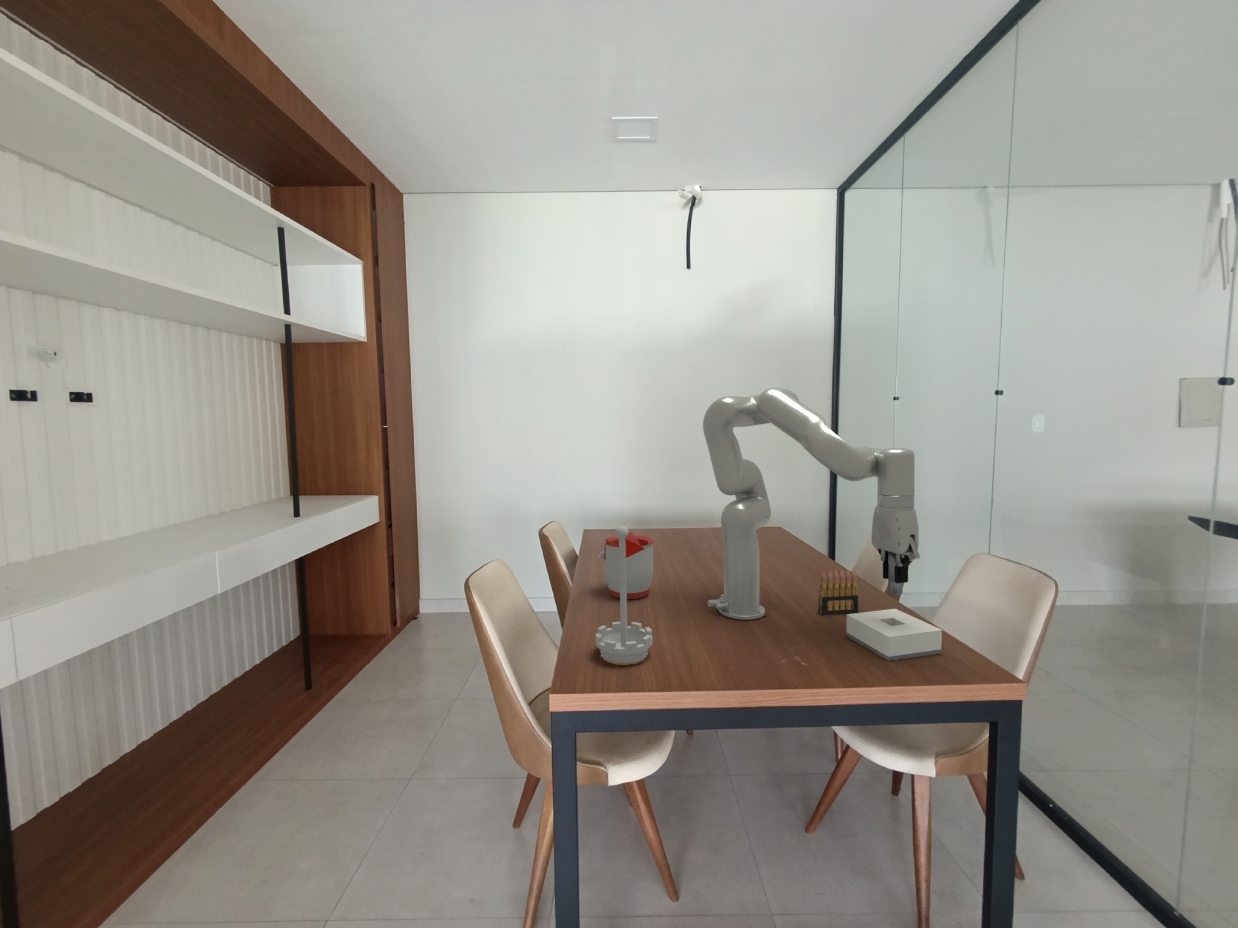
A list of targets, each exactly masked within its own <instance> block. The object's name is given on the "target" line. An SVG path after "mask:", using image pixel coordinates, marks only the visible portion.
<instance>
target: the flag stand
mask: <svg viewBox="0 0 1238 928" xmlns="http://www.w3.org/2000/svg"><path fill="white" fill-rule="evenodd" d="M629 531H630V530H629V529H628V528H627V527H626V526H624V525H620V526H618V527H617V528H616V530H615V535H616V536H617V537H618V538H619V566H620V599H619V602H620V603H619V611H620V614H619V615H620V617H619V618H620V621H613V622H612V623H611V627H608V628H607V625H601V626H599V627H598V628H597V633H595V645H596V647H597V648H598V649H599V652H600V653H601V655H600V657H601V656H602V657H603V658H605V659H607V660H610V661H613V662H619V663H629V662H630V663H631V662H637V661H640V660H642V659H644V658H645V657H647V655H648V656H649V648H651V647H652V645H653V630H652V628H651V627H650V626H647V627H644V628H643V623H640V622H636V621H632V622H631V623H630V624H631V625H628V605H627V604H628V603H627V601H628V599H627V588H626V558H627V557H630V556H632V555H634V554H636V553H638V552H640V551H642V550H644V549H645V548H643V547H641V546H639V545H637V544H635V543H633V542H631V541H629V540H627V539H626V537H627V536H628V534H629ZM647 658H648V657H647Z"/></svg>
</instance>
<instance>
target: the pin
mask: <svg viewBox="0 0 1238 928" xmlns="http://www.w3.org/2000/svg"><path fill="white" fill-rule="evenodd" d="M903 557H904V555H902V558H903ZM895 566H897V562H896V554H895V553H892V552H888V579H887V593H888V594H891V595H895V596H900V595H903V589H904V587H903V584H904V583H895V581H894V567H895Z"/></svg>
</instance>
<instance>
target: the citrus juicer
mask: <svg viewBox="0 0 1238 928" xmlns="http://www.w3.org/2000/svg"><path fill="white" fill-rule="evenodd" d="M628 531H629V534H628V536H627V537H626V539H627V540H629V541H631V542H633V543H635V544H637V545H639V546H641V547H643V548H645V549H644V550H642V551H640V552H638V553H636V554H634V555H632V556H630V557H627V558H626V588H627V600H635V599H638V598H640V599H643V598H644V597H646V596H647V595H648V594H649V592H650V589H651V585H652V581H653V577H654V576H653V575H654V542H655V540H654V539H652V537H648V536H644V535H643V536H642V535H635V534H633V533H632V532H631V531H630V530H628ZM597 559H603V560H604V575H605V580H606V584H607V589H608V591H609V593H610V595H611V596H612V597H614V598H615V599H617V598H620V566H619V538H618V537H617V535H616V536H610V537H608V538H606V539H605V543H604V550H601V551H600V553H599V555H598V556H597ZM642 597H643V598H642Z"/></svg>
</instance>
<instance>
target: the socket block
mask: <svg viewBox="0 0 1238 928" xmlns="http://www.w3.org/2000/svg"><path fill="white" fill-rule="evenodd" d="M942 632H943V630H942V629H941V628H938V627H936V626H934V625H932V624H930V623H928V622H925V621H923V620H921V619H919V618H917V617H914V616H912V615H911V614H908V613H906V612H903V611H901V610H899V609H897V608H891V609H890V608H888V609H883V610H872V611H865V612H859V613H855V614H846V637H847V638H849V639H850V640H852V641H854V642H855V643H857V644H859V645H860V646H862V647H864V648H865V649H867V650H869V651H871V652H872V653H874V654H875V655H877V656H878V657H880V658H882V659H884V660H886V661H887V662H892V660H893V661H900V660H907V659H914V658H920V657H927V656H928V657H929V656H932V655H934V656H935V655H941V654H942V641H943V640H942V639H943V633H942ZM899 659H900V660H899Z"/></svg>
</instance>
